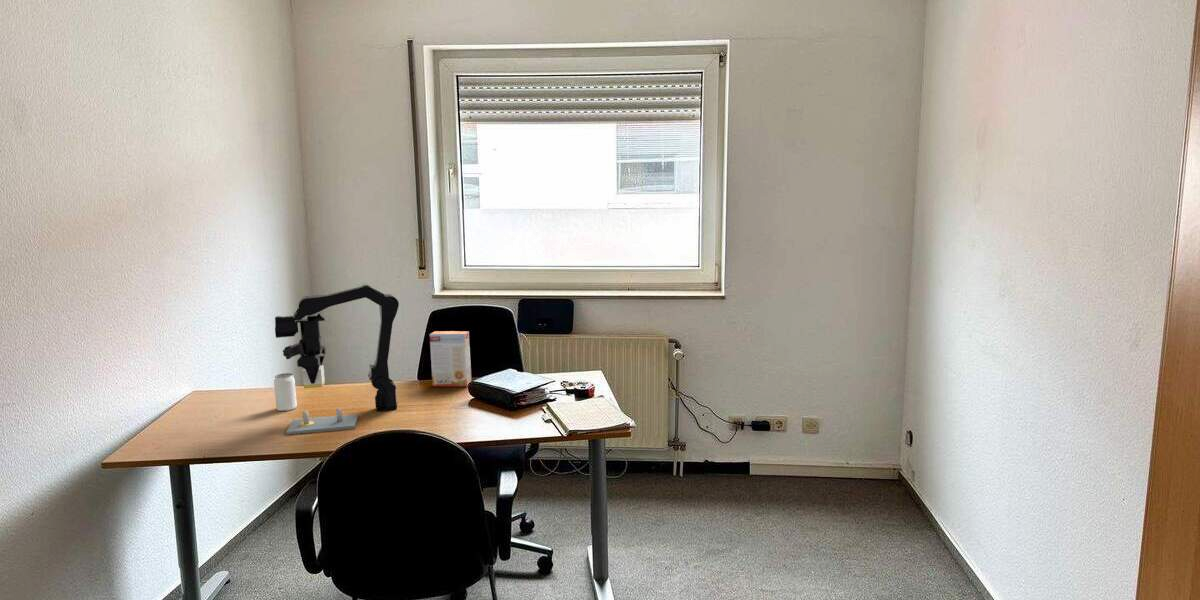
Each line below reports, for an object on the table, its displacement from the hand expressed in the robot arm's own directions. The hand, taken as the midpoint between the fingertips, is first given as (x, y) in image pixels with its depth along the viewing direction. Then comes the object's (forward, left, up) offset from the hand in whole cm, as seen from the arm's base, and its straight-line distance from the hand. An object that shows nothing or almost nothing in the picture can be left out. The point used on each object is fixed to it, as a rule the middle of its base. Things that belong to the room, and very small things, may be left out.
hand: (314, 381), depth 221 cm
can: (+12, -14, -13) cm, 22 cm away
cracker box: (-45, -27, -13) cm, 54 cm away
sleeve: (0, 0, -2) cm, 2 cm away
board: (-3, +9, -12) cm, 16 cm away
